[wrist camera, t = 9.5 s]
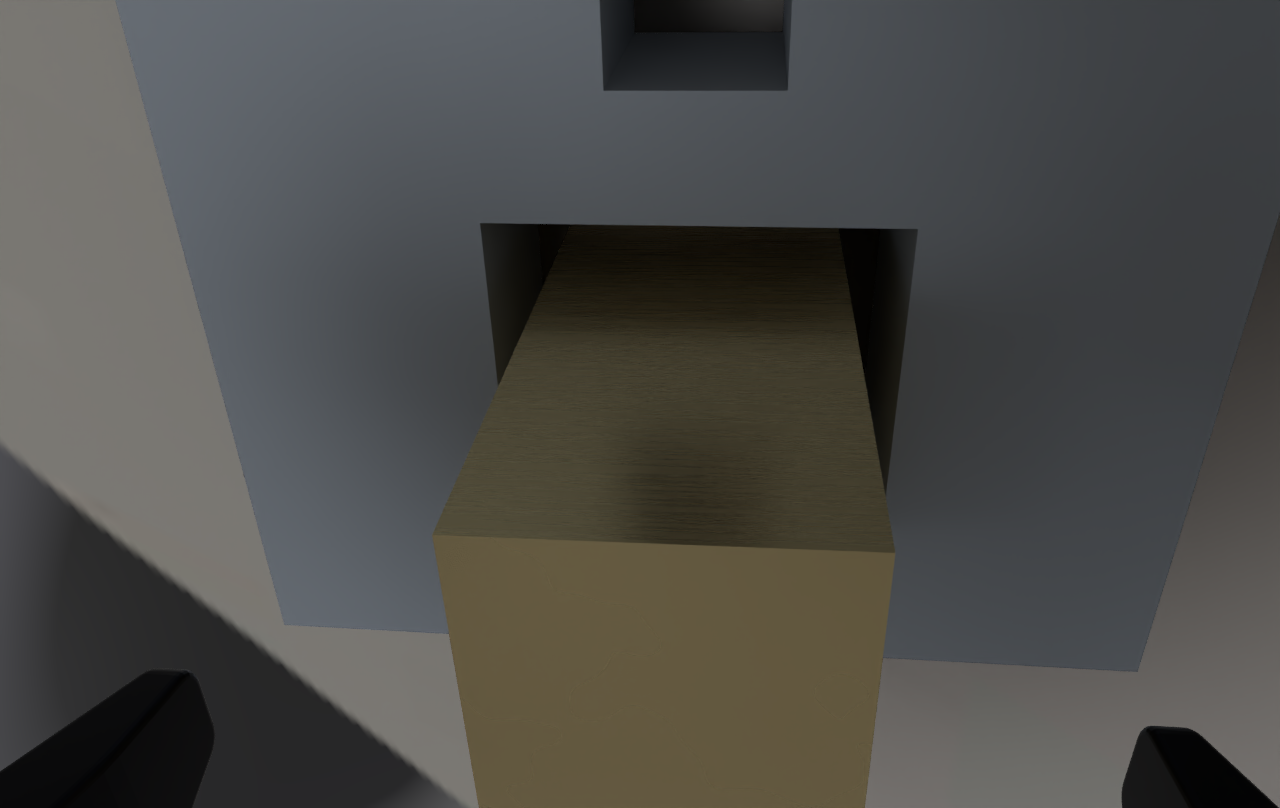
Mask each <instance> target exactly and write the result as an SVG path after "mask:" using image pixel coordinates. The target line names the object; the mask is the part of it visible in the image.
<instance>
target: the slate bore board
mask: <svg viewBox="0 0 1280 808" xmlns="http://www.w3.org/2000/svg"><path fill="white" fill-rule="evenodd" d="M115 1H116V4H117V8H118V12H119V15H120V19H121V23H122V26H123V30H124V34H125V37H126V41H127V45H128V49H129V52H130V56H131V60H132V63H133V67H134V71H135V74H136V78H137V82H138V85H139V89H140V93H141V97H142V100H143V104H144V108H145V111H146V115H147V119H148V122H149V126H150V130H151V134H152V137H153V141H154V145H155V148H156V152H157V156H158V159H159V163H160V167H161V170H162V174H163V178H164V182H165V185H166V189H167V193H168V196H169V200H170V204H171V207H172V211H173V215H174V218H175V222H176V226H177V230H178V233H179V237H180V241H181V244H182V248H183V252H184V255H185V259H186V263H187V266H188V270H189V274H190V278H191V281H192V285H193V289H194V292H195V296H196V300H197V303H198V307H199V311H200V315H201V318H202V322H203V326H204V329H205V333H206V337H207V340H208V344H209V348H210V351H211V355H212V359H213V363H214V366H215V370H216V374H217V377H218V381H219V385H220V388H221V392H222V396H223V399H224V403H225V407H226V411H227V414H228V418H229V422H230V425H231V429H232V433H233V436H234V440H235V444H236V448H237V451H238V455H239V459H240V462H241V466H242V470H243V473H244V477H245V481H246V484H247V488H248V492H249V496H250V499H251V503H252V507H253V510H254V514H255V518H256V521H257V525H258V529H259V532H260V536H261V540H262V544H263V547H264V551H265V555H266V558H267V562H268V566H269V569H270V573H271V577H272V580H273V584H274V588H275V592H276V595H277V599H278V603H279V606H280V610H281V614H282V617H283V621H284V625H298V626H316V627H334V628H352V629H371V630H389V631H407V632H425V633H443V634H449V631H448V625H447V619H446V613H445V608H444V602H443V596H442V590H441V584H440V579H439V573H438V567H437V561H436V555H435V550H434V544H433V538H432V534H433V532H434V529H435V527H436V525H437V523H438V520H439V518H440V516H441V514H442V512H443V509H444V507H445V505H446V503H447V500H448V498H449V496H450V494H451V491H452V489H453V487H454V485H455V482H456V480H457V478H458V476H459V473H460V471H461V469H462V467H463V464H464V462H465V460H466V458H467V455H468V453H469V451H470V449H471V446H472V444H473V442H474V440H475V438H476V435H477V433H478V431H479V429H480V426H481V424H482V422H483V420H484V417H485V415H486V413H487V411H488V408H489V406H490V404H491V402H492V399H493V397H494V395H495V393H496V390H497V388H498V386H499V384H500V381H501V379H502V377H503V375H504V373H505V370H506V368H507V366H508V364H509V361H510V359H511V357H512V355H513V352H514V350H515V348H516V346H517V343H518V341H519V339H520V337H521V334H522V332H523V330H524V328H525V325H526V323H527V321H528V319H529V316H530V314H531V312H532V310H533V307H534V305H535V303H536V301H537V299H538V296H539V294H540V292H541V290H542V287H543V281H542V269H541V256H540V244H539V231H538V224H585V225H658V226H731V227H804V228H877V229H880V236H879V246H878V255H877V265H876V275H875V285H874V295H873V305H872V315H871V324H870V334H869V344H868V354H867V364H866V374H865V383H866V388H867V394H868V400H869V405H870V411H871V417H872V422H873V428H874V434H875V439H876V445H877V451H878V456H879V462H880V468H881V474H882V479H883V485H884V491H885V496H886V502H887V508H888V513H889V519H890V525H891V530H892V536H893V542H894V547H895V561H894V569H893V578H892V586H891V594H890V602H889V611H888V619H887V627H886V635H885V644H884V652H883V658H897V659H915V660H933V661H951V662H969V663H987V664H1006V665H1024V666H1042V667H1060V668H1078V669H1096V670H1114V671H1133V672H1138V668H1139V665H1140V662H1141V659H1142V655H1143V652H1144V649H1145V646H1146V643H1147V639H1148V636H1149V633H1150V630H1151V626H1152V623H1153V620H1154V617H1155V614H1156V610H1157V607H1158V604H1159V601H1160V597H1161V594H1162V591H1163V588H1164V585H1165V581H1166V578H1167V575H1168V572H1169V568H1170V565H1171V562H1172V559H1173V556H1174V552H1175V549H1176V546H1177V543H1178V539H1179V536H1180V533H1181V530H1182V527H1183V523H1184V520H1185V517H1186V514H1187V510H1188V507H1189V504H1190V501H1191V498H1192V494H1193V491H1194V488H1195V485H1196V481H1197V478H1198V475H1199V472H1200V469H1201V465H1202V462H1203V459H1204V456H1205V452H1206V449H1207V446H1208V443H1209V440H1210V436H1211V433H1212V430H1213V427H1214V423H1215V420H1216V417H1217V414H1218V411H1219V407H1220V404H1221V401H1222V398H1223V394H1224V391H1225V388H1226V385H1227V382H1228V378H1229V375H1230V372H1231V369H1232V365H1233V362H1234V359H1235V356H1236V353H1237V349H1238V346H1239V343H1240V340H1241V336H1242V333H1243V330H1244V327H1245V324H1246V320H1247V317H1248V314H1249V311H1250V307H1251V304H1252V301H1253V298H1254V295H1255V291H1256V288H1257V285H1258V282H1259V278H1260V275H1261V272H1262V269H1263V266H1264V262H1265V259H1266V256H1267V253H1268V249H1269V246H1270V243H1271V240H1272V237H1273V233H1274V230H1275V227H1276V224H1277V220H1278V217H1279V214H1280V0H784V13H783V32H684V33H634V0H115Z"/></svg>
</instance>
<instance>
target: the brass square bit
mask: <svg viewBox="0 0 1280 808" xmlns="http://www.w3.org/2000/svg"><path fill="white" fill-rule="evenodd" d="M432 538H433V544H434V550H435V555H436V561H437V567H438V573H439V579H440V584H441V590H442V596H443V602H444V608H445V613H446V619H447V625H448V631H449V637H450V642H451V648H452V654H453V660H454V665H455V671H456V677H457V683H458V689H459V694H460V700H461V706H462V712H463V718H464V723H465V729H466V735H467V741H468V747H469V752H470V758H471V764H472V770H473V776H474V781H475V787H476V793H477V799H478V804H479V808H865V801H866V793H867V784H868V776H869V768H870V760H871V751H872V743H873V735H874V726H875V718H876V710H877V702H878V693H879V685H880V677H881V669H882V660H883V652H884V644H885V635H886V627H887V619H888V611H889V602H890V594H891V586H892V578H893V569H894V561H895V547H894V542H893V536H892V530H891V525H890V519H889V513H888V508H887V502H886V496H885V491H884V485H883V479H882V474H881V468H880V462H879V456H878V451H877V445H876V439H875V434H874V428H873V422H872V417H871V411H870V405H869V400H868V394H867V388H866V383H865V377H864V371H863V366H862V360H861V354H860V349H859V343H858V337H857V331H856V326H855V320H854V314H853V309H852V303H851V297H850V292H849V286H848V280H847V275H846V269H845V263H844V258H843V252H842V246H841V241H840V235H839V229H838V228H804V227H731V226H658V225H585V224H571V225H570V227H569V229H568V231H567V233H566V236H565V238H564V240H563V242H562V245H561V247H560V249H559V251H558V254H557V256H556V258H555V260H554V263H553V265H552V267H551V269H550V272H549V274H548V276H547V278H546V281H545V283H544V285H543V287H542V290H541V292H540V294H539V296H538V299H537V301H536V303H535V305H534V307H533V310H532V312H531V314H530V316H529V319H528V321H527V323H526V325H525V328H524V330H523V332H522V334H521V337H520V339H519V341H518V343H517V346H516V348H515V350H514V352H513V355H512V357H511V359H510V361H509V364H508V366H507V368H506V370H505V373H504V375H503V377H502V379H501V381H500V384H499V386H498V388H497V390H496V393H495V395H494V397H493V399H492V402H491V404H490V406H489V408H488V411H487V413H486V415H485V417H484V420H483V422H482V424H481V426H480V429H479V431H478V433H477V435H476V438H475V440H474V442H473V444H472V446H471V449H470V451H469V453H468V455H467V458H466V460H465V462H464V464H463V467H462V469H461V471H460V473H459V476H458V478H457V480H456V482H455V485H454V487H453V489H452V491H451V494H450V496H449V498H448V500H447V503H446V505H445V507H444V509H443V512H442V514H441V516H440V518H439V520H438V523H437V525H436V527H435V529H434V532H433V534H432Z"/></svg>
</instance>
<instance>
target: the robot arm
mask: <svg viewBox="0 0 1280 808" xmlns="http://www.w3.org/2000/svg"><path fill="white" fill-rule="evenodd" d="M214 740H215V732H214V725H213V722H212V719H211V716H210V713H209V710H208V707H207V704H206V701H205V698H204V695H203V692H202V689H201V686H200V683H199V681H198V678H197V677H196V675H194V674H193V673H192V672H191V671H188V670H181V669H164V668H155V669H151V670H148V671H146V672H144V673H143V674H141V675H139V676H138V677H137V678H135V679H134V680H132V681H131V682H129V683H128V684H126V685H125V686H123V687H122V688H121V689H119V690H118V691H116V692H115V693H113V694H112V695H110V696H109V697H107V698H106V699H105V700H103V701H102V702H100V703H99V704H97V705H96V706H94V707H93V708H92V709H90V710H89V711H87V712H86V713H84V714H83V715H82V716H80V717H78V718H77V719H76V720H74V721H73V722H71V723H70V724H68V725H67V726H65V727H64V728H62V729H61V730H60V731H58V732H57V733H55V734H54V735H52V736H51V737H49V738H48V739H46V740H45V741H44V742H42V743H41V744H39V745H38V746H36V747H35V748H33V749H32V750H31V751H29V752H28V753H26V754H25V755H23V756H22V757H20V758H19V759H17V760H16V761H15V762H13V763H12V764H10V765H9V766H7V767H6V768H4V769H3V770H1V771H0V808H193V805H194V802H195V799H196V796H197V794H198V791H199V788H200V785H201V782H202V779H203V776H204V774H205V771H206V768H207V765H208V763H209V760H210V757H211V754H212V751H213V746H214ZM1122 808H1279V807H1278V806H1277V805H1275V804H1274V803H1273V802H1272V801H1271V800H1270V799H1269V798H1268V797H1267V796H1266V795H1265V794H1264V793H1263V792H1261V791H1260V790H1259V789H1258V788H1257V787H1256V786H1255V785H1254V784H1253V783H1252V782H1251V781H1250V780H1248V779H1247V778H1246V777H1245V776H1244V775H1243V774H1242V773H1241V772H1240V771H1239V770H1238V769H1237V768H1236V767H1234V766H1233V765H1232V764H1231V763H1230V762H1229V761H1228V760H1227V759H1226V758H1225V757H1224V756H1223V755H1222V754H1220V753H1219V752H1218V751H1217V750H1216V749H1215V748H1214V747H1213V746H1212V745H1211V744H1210V743H1209V742H1208V741H1206V740H1205V739H1204V738H1203V737H1202V736H1201V735H1200V734H1198V733H1197V732H1195V731H1193V730H1191V729H1188V728H1181V727H1164V726H1148V727H1146V728H1144V729H1143V730H1142V731H1141V732H1140V734H1139V736H1138V739H1137V742H1136V745H1135V748H1134V751H1133V755H1132V758H1131V761H1130V764H1129V767H1128V770H1127V773H1126V776H1125V779H1124V783H1123V787H1122Z"/></svg>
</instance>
